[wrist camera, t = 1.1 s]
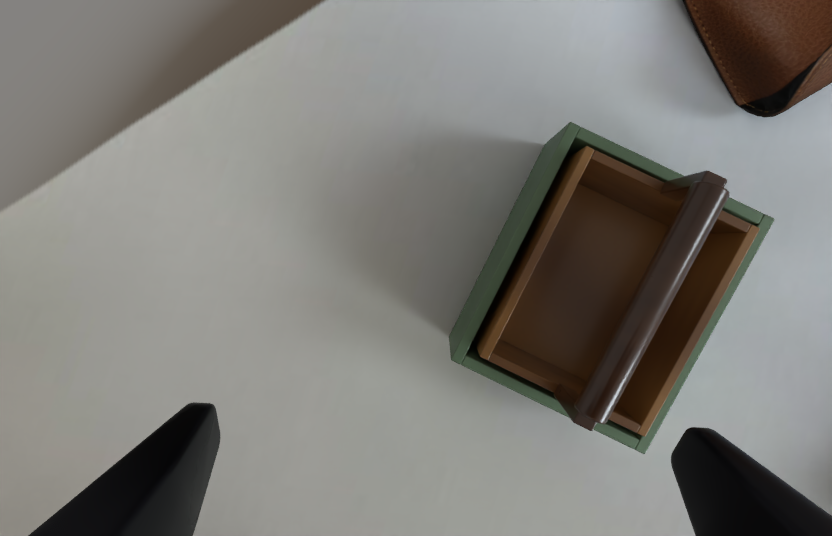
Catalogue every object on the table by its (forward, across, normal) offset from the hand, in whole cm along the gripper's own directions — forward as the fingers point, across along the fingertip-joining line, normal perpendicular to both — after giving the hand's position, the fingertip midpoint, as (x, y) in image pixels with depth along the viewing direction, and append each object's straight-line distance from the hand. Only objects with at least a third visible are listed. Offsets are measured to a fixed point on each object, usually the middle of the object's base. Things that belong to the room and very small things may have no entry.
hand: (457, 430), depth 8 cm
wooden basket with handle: (+14, -9, +5) cm, 17 cm away
